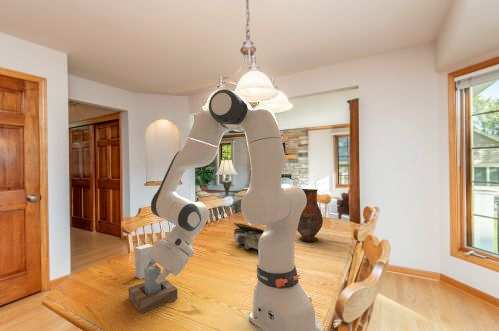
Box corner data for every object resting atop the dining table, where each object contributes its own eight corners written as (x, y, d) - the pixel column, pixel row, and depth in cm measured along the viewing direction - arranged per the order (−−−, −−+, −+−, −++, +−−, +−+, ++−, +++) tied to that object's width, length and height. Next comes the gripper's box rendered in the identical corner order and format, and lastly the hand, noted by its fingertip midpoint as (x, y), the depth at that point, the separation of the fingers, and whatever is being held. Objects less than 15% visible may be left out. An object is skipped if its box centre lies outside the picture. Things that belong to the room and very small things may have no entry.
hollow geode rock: (235, 249, 144) (220, 234, 137) (246, 231, 151) (232, 216, 144) (270, 262, 124) (255, 245, 117) (282, 240, 130) (268, 223, 123)
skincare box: (148, 271, 106) (148, 243, 105) (154, 274, 103) (153, 245, 103) (134, 276, 101) (134, 247, 101) (139, 279, 98) (139, 249, 98)
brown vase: (328, 240, 146) (328, 189, 146) (305, 248, 133) (305, 192, 133) (306, 233, 159) (306, 187, 159) (282, 240, 146) (282, 189, 146)
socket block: (177, 298, 84) (177, 288, 84) (140, 313, 76) (140, 302, 76) (162, 285, 93) (162, 276, 93) (128, 297, 85) (128, 287, 85)
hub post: (160, 295, 84) (160, 267, 84) (148, 299, 82) (148, 271, 82) (156, 290, 87) (156, 264, 87) (144, 294, 85) (144, 267, 85)
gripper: (159, 231, 97) (133, 263, 90) (185, 244, 82) (156, 283, 75) (170, 240, 100) (146, 272, 93) (197, 254, 85) (170, 292, 78)
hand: (150, 277), depth 84 cm, fingers open, 8 cm apart
